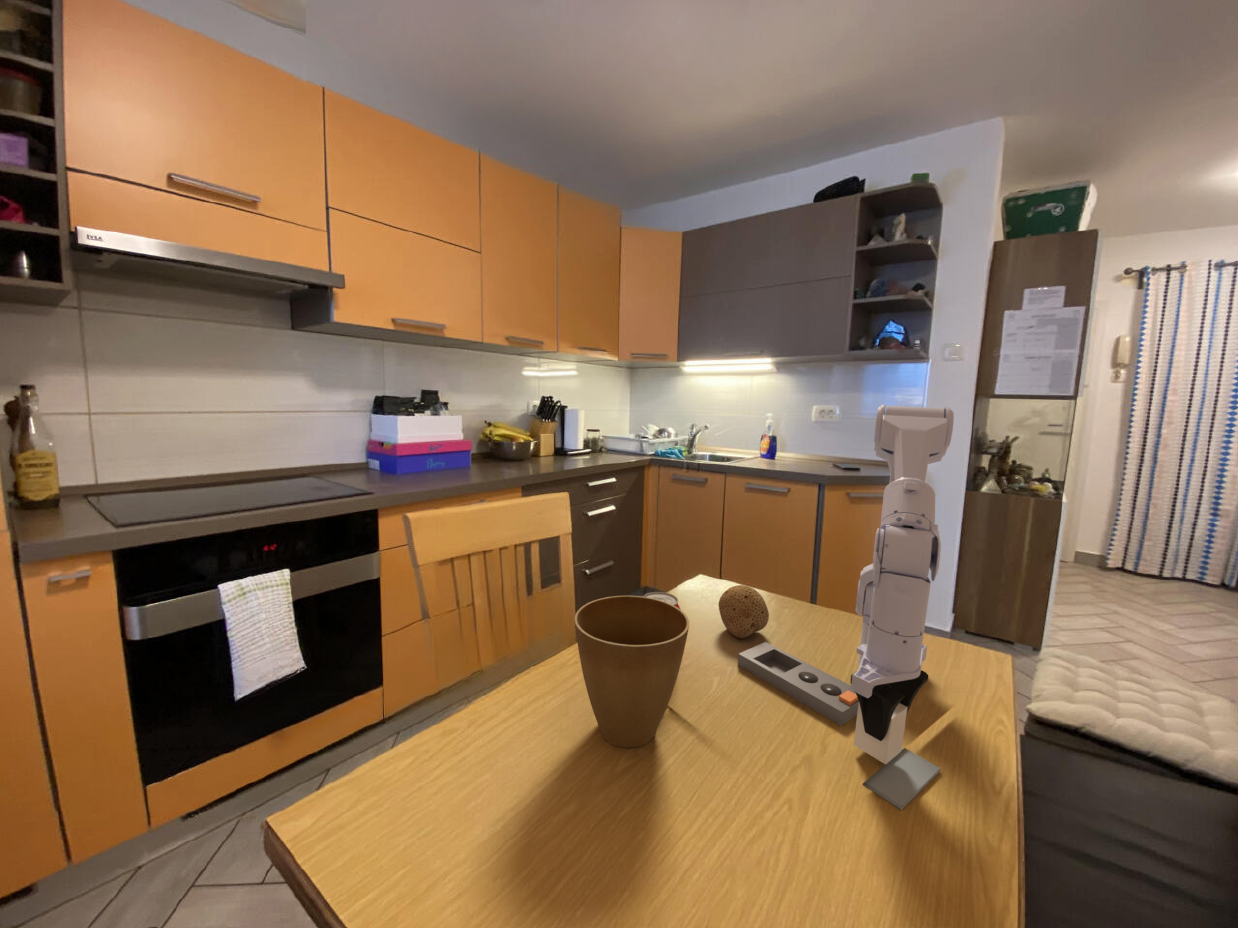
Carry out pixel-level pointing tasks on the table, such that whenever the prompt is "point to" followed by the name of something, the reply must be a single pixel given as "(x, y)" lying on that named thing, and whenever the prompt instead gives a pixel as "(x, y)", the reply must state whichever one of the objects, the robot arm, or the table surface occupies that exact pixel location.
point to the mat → (902, 778)
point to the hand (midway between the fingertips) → (883, 728)
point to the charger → (890, 743)
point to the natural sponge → (743, 611)
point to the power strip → (801, 682)
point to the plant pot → (630, 663)
